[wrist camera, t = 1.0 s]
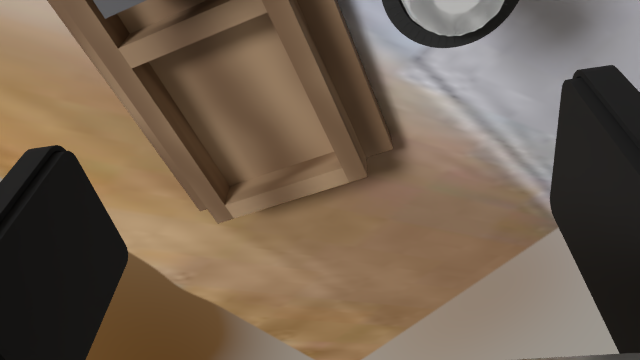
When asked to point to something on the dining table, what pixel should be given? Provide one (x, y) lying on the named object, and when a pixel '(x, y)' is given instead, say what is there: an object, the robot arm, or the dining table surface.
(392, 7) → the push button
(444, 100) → the dining table surface
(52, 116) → the dining table surface
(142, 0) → the plug block
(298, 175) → the brown wooden divided tray
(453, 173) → the dining table surface
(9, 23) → the dining table surface
